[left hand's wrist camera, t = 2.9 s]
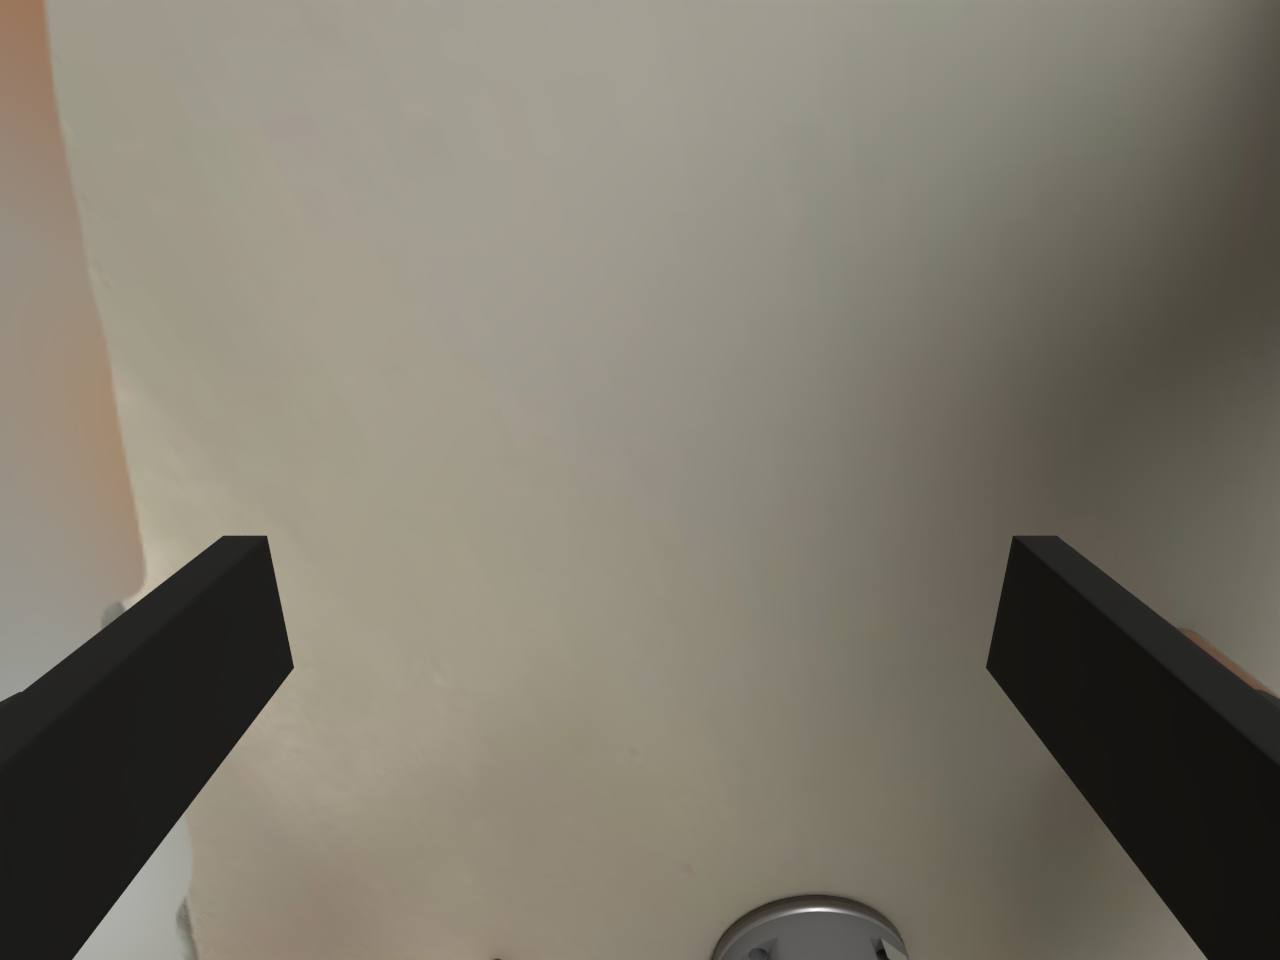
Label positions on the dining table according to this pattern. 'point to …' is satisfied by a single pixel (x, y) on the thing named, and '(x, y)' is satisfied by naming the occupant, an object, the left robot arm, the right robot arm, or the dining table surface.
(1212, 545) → the dining table surface
